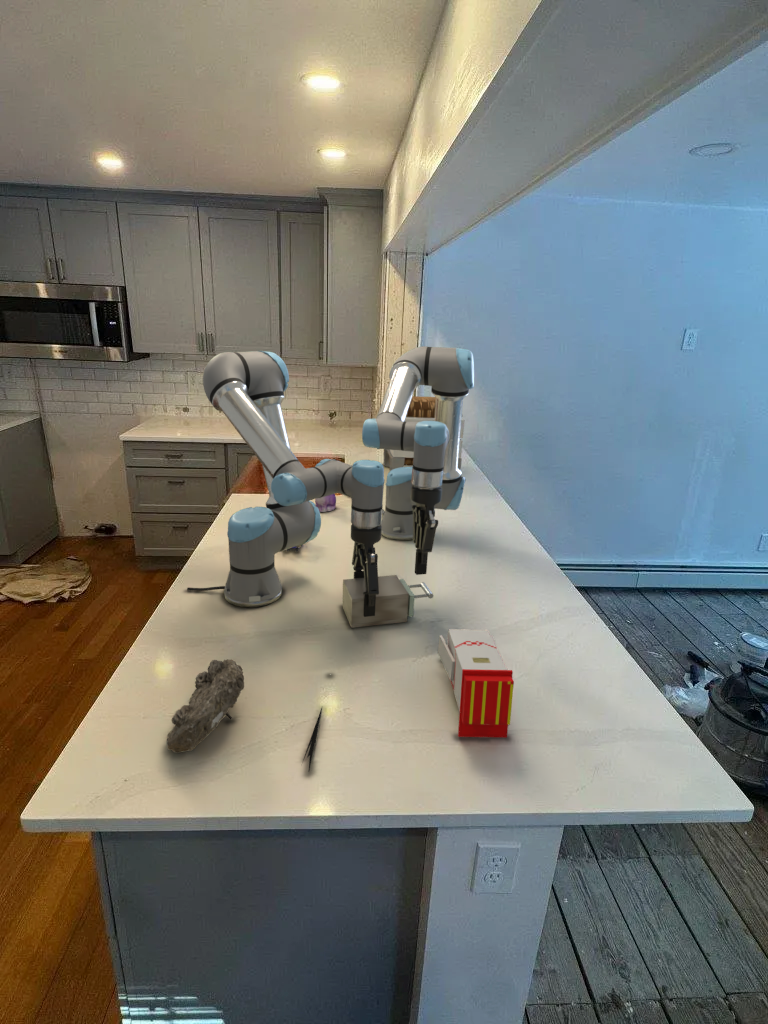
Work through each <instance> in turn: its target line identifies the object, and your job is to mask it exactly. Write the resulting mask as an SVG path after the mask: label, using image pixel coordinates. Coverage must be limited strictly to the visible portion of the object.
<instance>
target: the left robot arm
mask: <svg viewBox="0 0 768 1024" xmlns="http://www.w3.org/2000/svg"><path fill="white" fill-rule="evenodd" d="M289 374H290V373H289V370H288V367H287V365H286V363H285V361H284V360H283V359H282V358H281V357H280V356H279V355H278V354H277V353H275V352H272V351H265V350H264V351H263V350H253V351H225V352H221V353H218V354H216V355H215V356H214V357H212V358H211V359H210V360H208V362H207V364H206V365H205V368H204V371H203V375H202V385H203V390H204V394H205V396H206V398H207V399H208V401H209V403H210V404H211V405H212V407H213V408H214V409H215V410H216V411H218V412H222V413H223V415H224V416H225V417H226V418H227V420H228V421H229V423H230V424H231V425H232V426H233V428H234V429H235V430H236V432H237V433H238V434H239V436H240V438H241V439H242V440H243V441H244V442H245V444H246V445H247V446H248V447H249V449H250V450H251V451H252V453H253V454H254V456H255V457H256V458H257V460H258V461H259V463H260V464H261V466H262V470H263V474H264V478H265V479H264V480H265V482H266V483H265V484H266V487H267V493H268V499H267V500H266V502H265V506H254V507H252V506H250V507H245V508H242V509H239V510H238V511H236V512H234V513H232V515H230V517H229V519H228V522H227V532H226V533H227V539H228V557H229V572H228V574H227V578H226V581H225V585H221V586H220V585H219V586H211V587H209V586H208V587H186V590H187V591H190V592H191V591H192V592H208V591H215V590H216V591H218V590H223V594H224V599H225V600H226V602H228V603H229V604H231V605H233V606H237V607H241V608H242V607H243V608H257V607H264V606H266V605H270V604H272V603H274V602H276V601H278V600H279V599H280V597H282V595H283V586H282V582H281V580H280V577H279V574H278V571H277V569H276V566H275V564H276V563H275V555H276V554H278V553H280V552H281V553H282V552H284V551H287V549H289V548H290V549H293V548H292V547H295V546H298V545H302V546H303V545H305V544H307V543H308V542H311V541H313V540H314V539H316V537H317V536H318V535H319V533H320V530H321V526H322V516H321V512H319V509H318V508H317V507H315V505H316V503H315V502H314V501H313V500H315V499H316V498H321V497H325V496H328V495H332V494H335V495H336V494H340V495H343V496H346V497H349V498H351V507H350V523H351V524H350V539H351V540H352V541H353V542H354V545H353V552H352V559H351V565H352V566H353V567H352V568H353V579H356V578H364V579H365V589H366V592H363V595H364V617H368V616H375V603H376V595H378V594H379V586H378V577H379V568H378V560H379V555H378V553H376V547H374V546H375V544H377V543H379V542H380V541H381V540H382V535H381V534H382V526H381V523H382V519H383V514H384V511H385V509H383V503H384V502H383V501H384V487H385V481H386V480H385V468H384V467H385V466H384V464H383V463H382V462H380V461H379V460H374V459H373V460H370V459H359V460H356V461H354V462H353V463H352V464H349V463H346V462H343V461H340V460H338V459H331V458H324V459H321V460H320V461H319V462H317V463H316V464H315V466H311V467H307V468H305V466H304V464H303V463H302V462H301V461H300V460H299V459H298V458H297V457H296V455H295V454H294V452H293V451H292V449H291V445H290V440H289V435H288V432H287V426H286V422H285V419H284V414H283V409H282V403H283V401H284V400H285V397H286V396H285V392H286V391H287V390H288V387H289V382H290V375H289ZM382 509H383V510H382ZM290 549H289V550H290Z"/></svg>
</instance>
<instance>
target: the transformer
mask: <svg viewBox="0 0 768 1024" xmlns="http://www.w3.org/2000/svg"><path fill="white" fill-rule="evenodd" d="M435 402H436V397H435V396H415V395H414V396H412V399H411V402H410V405H409V408H408V412H407V415H406V418H405V421H406V422H422V421H434V419H435ZM464 429H465V419H464V418H463V417H462V418H461V431H460V443H459V455H458V468H459V469H460V470H461V471H462V461H463V460H462V453H463V442H464V441H463V440H462V439H463V438H464V431H465V430H464ZM413 457H414V452H412V451H402V450H388V449H383V463H382V465H383V467H388V468H389V472H390V471H391V470H393V469H396V468H400V467H405V466H406V467H413Z"/></svg>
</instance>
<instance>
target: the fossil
mask: <svg viewBox="0 0 768 1024" xmlns="http://www.w3.org/2000/svg"><path fill="white" fill-rule="evenodd" d="M243 670H244V669H243V667H242V665H240V664H237V662H236V661H235V660H234V659H232V658H231V659H227V658H226V659H224V660H223V661H222V660H217V659H212V660H211V661H210V663H209V665H208V666H207V671H201V672H199V673H198V674H197V675H196V676H195V680H194V684H195V685H194V687H195V689H194V690H193V693H192V694H191V697H190V698H189V700H188V704H184V705H182V706H181V707H180V709H177V710H176V711H175V713H174V715H173V716H172V718H171V723H172V724H173V727H172V730H171V731H170V732H168V734H167V738H166V741H167V742H166V745H167V749H168V750H169V751H173V752H174V753H176V754H178V753H182V752H188V751H189V752H192V751H193V750H195V748H196V747H197V746H199V744H200V743H201V742H203V741H204V740H205V739H206V738H207V737H208V736H209V735H210V734H211V733H212V732H214V730H215V729H217V727H218V726H219V724H220V722H221V721H222V720H223V719H224V718H225V716H226V717H227V719H229V720H233V717H232V715H230V714H229V710H230V709H231V708H234V706H235V704H236V703H237V702H238V699H239V697H240V695H241V693H242V691H243V690H245V689H244V688H245V675H244V671H243Z"/></svg>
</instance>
